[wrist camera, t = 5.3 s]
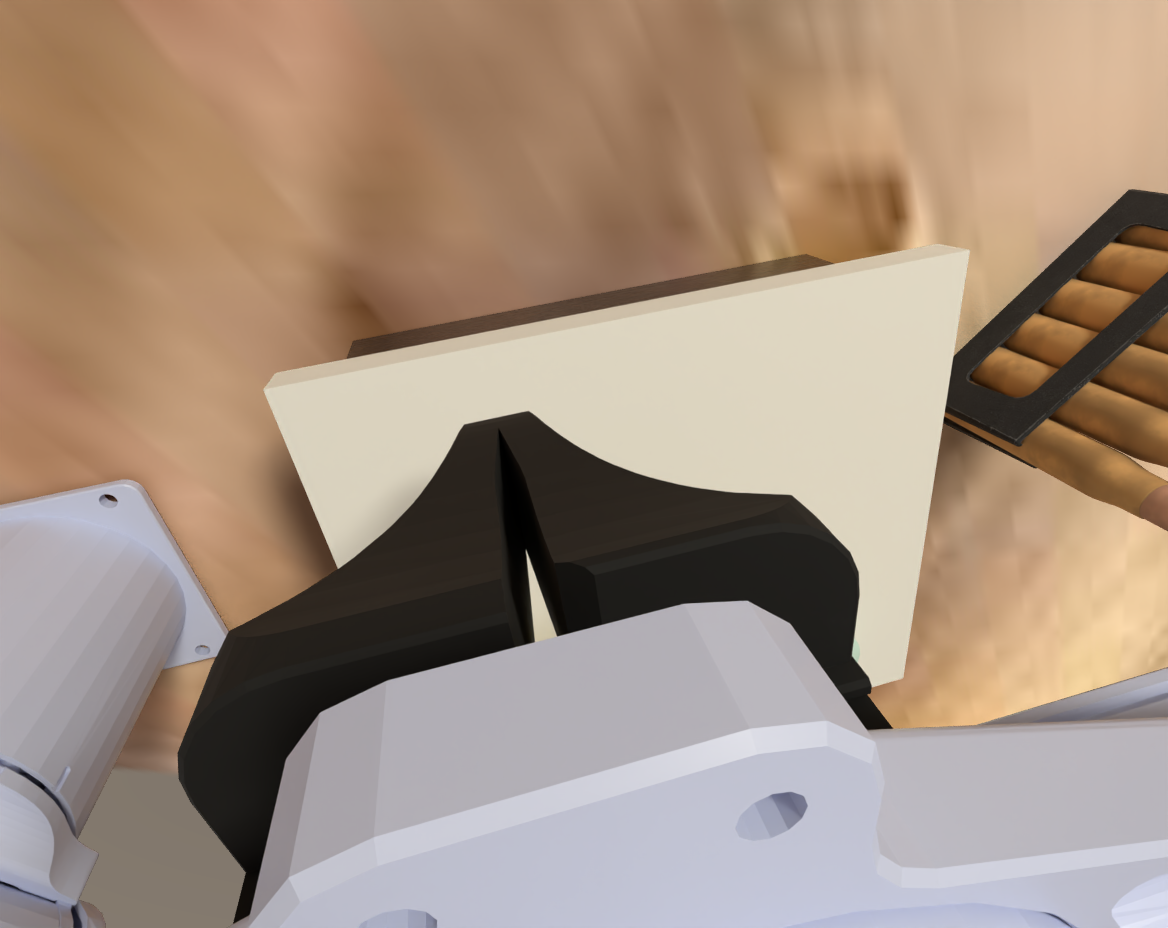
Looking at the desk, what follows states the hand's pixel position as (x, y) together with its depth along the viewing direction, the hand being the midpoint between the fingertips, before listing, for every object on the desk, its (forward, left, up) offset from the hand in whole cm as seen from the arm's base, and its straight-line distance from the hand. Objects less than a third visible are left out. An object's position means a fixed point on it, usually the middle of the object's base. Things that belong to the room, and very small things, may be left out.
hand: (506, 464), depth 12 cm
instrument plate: (+4, -7, -5) cm, 9 cm away
